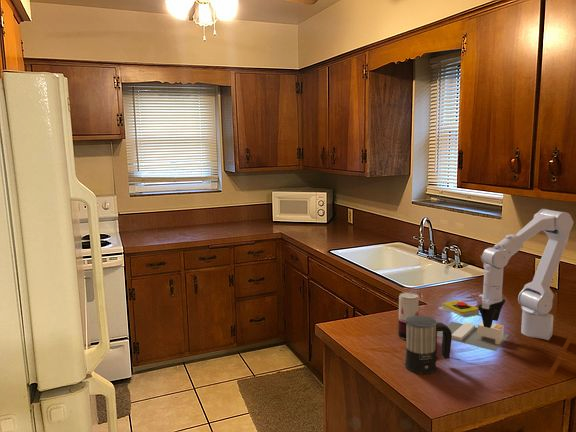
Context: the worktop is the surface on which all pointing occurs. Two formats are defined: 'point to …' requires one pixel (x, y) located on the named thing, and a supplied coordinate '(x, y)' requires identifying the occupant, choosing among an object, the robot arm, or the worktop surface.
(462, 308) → the emergency button
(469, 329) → the rail panel
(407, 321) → the milk frother
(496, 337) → the block
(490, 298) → the robot arm
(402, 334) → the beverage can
